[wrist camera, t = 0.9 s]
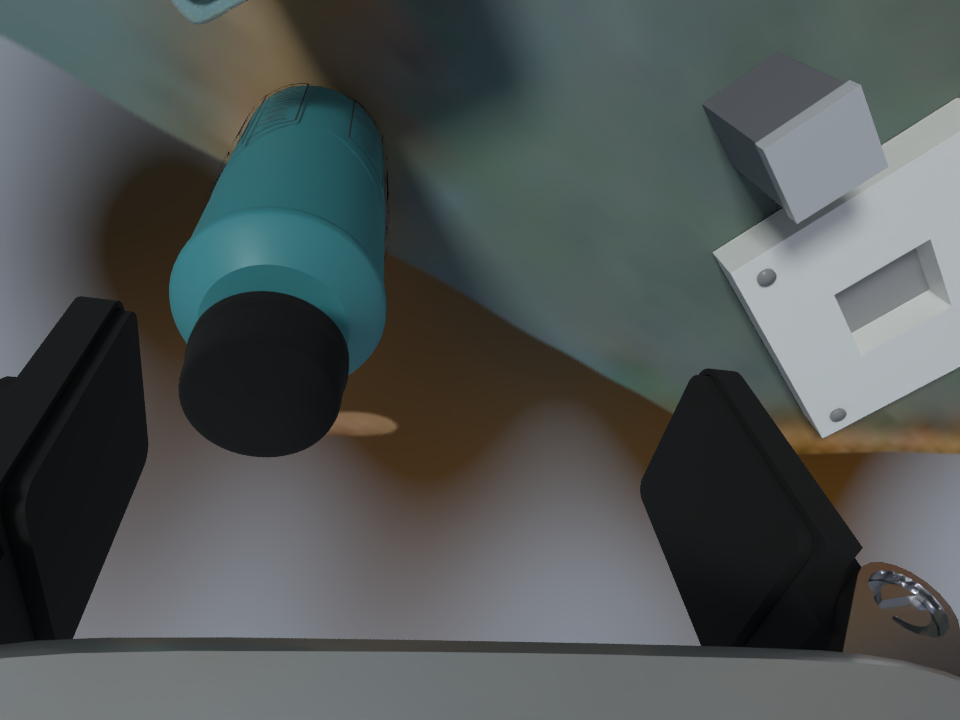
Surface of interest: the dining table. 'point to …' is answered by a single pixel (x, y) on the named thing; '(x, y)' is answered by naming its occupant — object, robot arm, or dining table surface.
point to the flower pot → (204, 9)
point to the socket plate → (862, 281)
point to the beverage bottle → (284, 275)
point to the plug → (797, 134)
